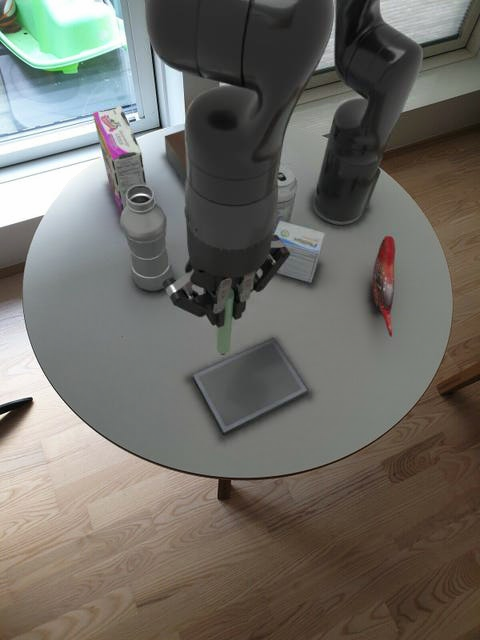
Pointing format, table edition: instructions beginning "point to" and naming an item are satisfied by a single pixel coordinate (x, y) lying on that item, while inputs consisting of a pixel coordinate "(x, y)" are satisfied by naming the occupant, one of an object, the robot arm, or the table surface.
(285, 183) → the energy drink can
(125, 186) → the candy bar box
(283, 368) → the tablet
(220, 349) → the stylus
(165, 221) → the plastic bottle
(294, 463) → the table surface
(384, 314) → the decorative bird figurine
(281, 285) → the table surface
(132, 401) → the table surface
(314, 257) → the medicine box
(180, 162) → the holder
